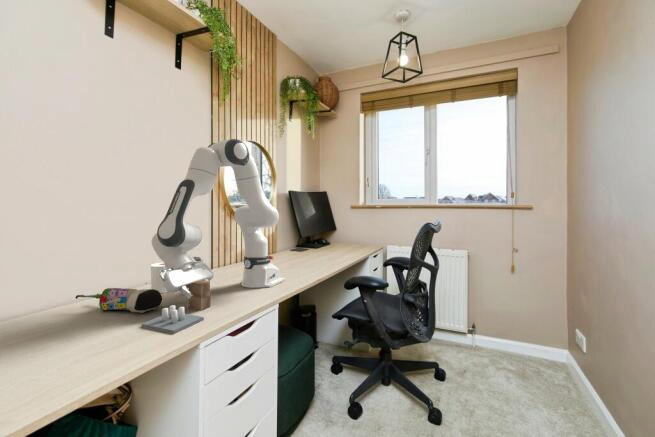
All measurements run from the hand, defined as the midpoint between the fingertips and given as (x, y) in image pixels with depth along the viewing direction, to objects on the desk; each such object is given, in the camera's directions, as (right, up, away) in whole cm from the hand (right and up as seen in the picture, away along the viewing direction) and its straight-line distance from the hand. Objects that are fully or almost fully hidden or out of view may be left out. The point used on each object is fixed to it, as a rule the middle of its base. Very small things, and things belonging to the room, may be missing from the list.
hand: (200, 293), depth 113 cm
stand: (-3, -6, -15) cm, 16 cm away
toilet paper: (-26, -4, +23) cm, 36 cm away
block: (-1, -5, +1) cm, 5 cm away
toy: (-28, -6, -1) cm, 29 cm away
